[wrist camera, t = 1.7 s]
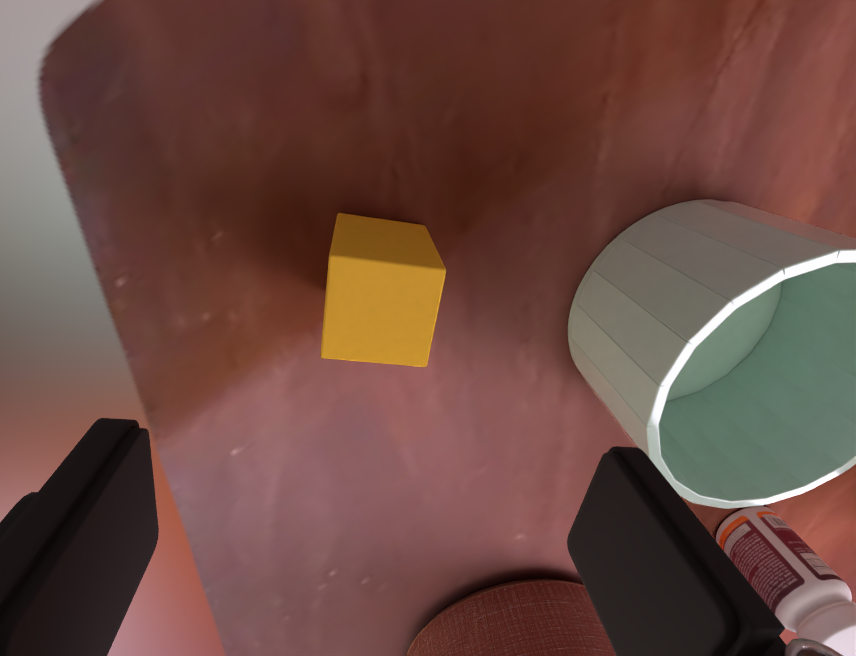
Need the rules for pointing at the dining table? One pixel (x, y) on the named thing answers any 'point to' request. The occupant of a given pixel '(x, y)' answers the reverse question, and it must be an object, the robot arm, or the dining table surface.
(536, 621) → the planter
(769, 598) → the pill bottle
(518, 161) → the dining table surface
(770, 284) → the mint faceted tub
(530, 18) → the dining table surface
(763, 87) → the dining table surface
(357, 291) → the yellow block
